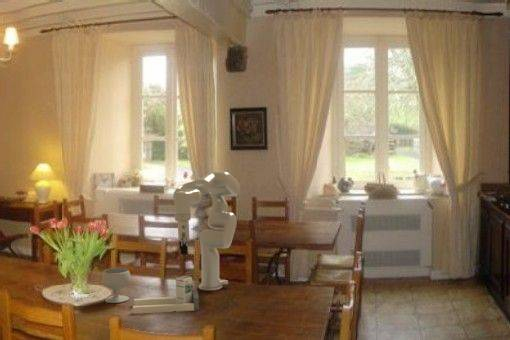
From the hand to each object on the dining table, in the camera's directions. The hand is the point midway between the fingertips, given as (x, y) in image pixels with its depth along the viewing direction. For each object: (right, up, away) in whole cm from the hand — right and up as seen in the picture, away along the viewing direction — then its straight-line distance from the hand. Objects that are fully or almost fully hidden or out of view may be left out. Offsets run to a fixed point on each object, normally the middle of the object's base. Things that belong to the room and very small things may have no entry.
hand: (183, 251), depth 271 cm
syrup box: (+1, -26, -4) cm, 27 cm away
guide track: (-8, -26, -5) cm, 28 cm away
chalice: (-34, -25, +7) cm, 43 cm away
